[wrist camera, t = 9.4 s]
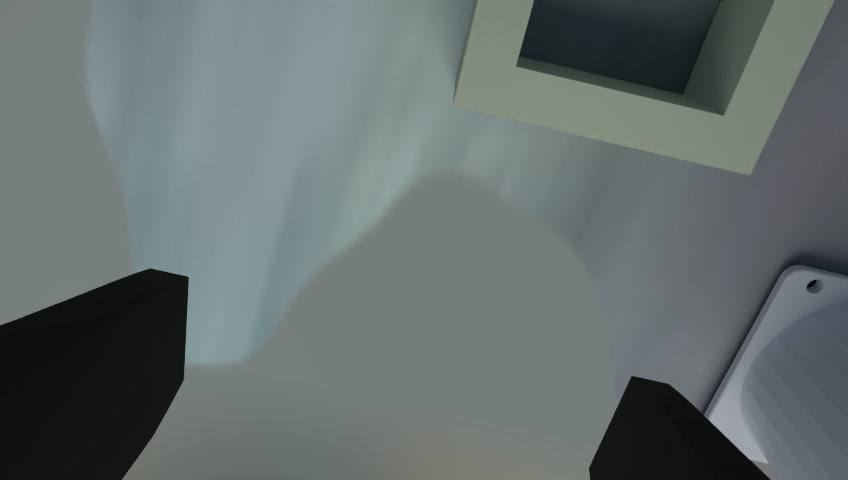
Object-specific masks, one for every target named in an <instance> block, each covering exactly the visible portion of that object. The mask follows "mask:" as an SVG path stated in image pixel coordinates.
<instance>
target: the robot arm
mask: <svg viewBox="0 0 848 480" xmlns="http://www.w3.org/2000/svg"><path fill="white" fill-rule="evenodd" d="M813 280H817V281H816V283H815V284H814V285H813V286H812V287H809V288H807V285H808V284H809V282H810V281H813ZM188 282H189V277H186V276H182V275H177V274H173V273H168V272H164V271H159V270H155V269H147V270H144V271H141V272H138V273H135V274H132V275H129V276H127V277H124V278H121V279H119V280H116V281H114V282H111V283H108V284H106V285H104V286H101V287H98V288H96V289H93V290H91V291H88V292H86V293H83V294H81V295H78V296H76V297H74V298H71V299H68V300H66V301H63V302H61V303H58V304H55V305H53V306H50V307H48V308H45V309H42V310H40V311H37V312H35V313H32V314H30V315H27V316H25V317H22V318H19V319H17V320H14V321H11V322H9V323H6V324H3V325H0V480H122V479H123V477H124V476H125V475H126V473H127V472H128V470H129V469H130V468H131V466H132V465H133V463H134V462H135V461H136V459H137V458H138V456H139V455H140V454H141V452H142V451H143V449H144V448H145V447H146V445H147V443H148V442H149V441H150V439H151V438H152V437H153V435H154V433H155V431H156V430H157V428H158V426H159V425H160V423H161V421H162V419H163V417H164V416H165V414H166V412H167V410H168V408H169V406H170V405H171V403H172V401H173V399H174V397H175V395H176V393H177V391H178V390H179V388H180V386H181V384H182V382H183V380H184V364H185V343H186V323H187V302H188ZM749 459H750V460H754V461H759V462H763V463H768V464H770V466H771V468H772V469H773V471H774V472H775V474H776V476H777V477H778V479H779V480H848V276H847V275H842V274H838V273H834V272H829V271H825V270H821V269H816V268H812V267H808V266H803V265H794V266H791V267H789V268H787V269H786V270H784V271H783V273H782V274H781V275H780V277H779V279H778V281H777V282H776V284H775V286H774V288H773V290H772V292H771V293H770V295H769V297H768V299H767V301H766V302H765V304H764V306H763V308H762V310H761V312H760V313H759V315H758V317H757V319H756V321H755V322H754V324H753V326H752V328H751V330H750V332H749V333H748V335H747V337H746V339H745V341H744V343H743V344H742V346H741V348H740V350H739V352H738V353H737V355H736V357H735V359H734V361H733V363H732V364H731V366H730V368H729V370H728V372H727V373H726V375H725V377H724V379H723V381H722V383H721V384H720V386H719V388H718V390H717V392H716V393H715V395H714V397H713V399H712V401H711V403H710V404H709V406H708V408H707V410H706V412H705V414H704V415H703V414H702V413H701V412H700V411H699V410H698V409H697V408H696V407H695V406H693V405H692V404H691V403H690V402H689V401H688V400H687V399H686V398H685V397H683V396H682V395H681V394H680V393H679V392H678V391H676V390H675V389H674V388H673V387H672V386H670V385H669V384H666V383H661V382H657V381H652V380H648V379H644V378H639V377H635V376H632V377H631V379H630V381H629V383H628V385H627V387H626V390H625V392H624V394H623V396H622V398H621V400H620V403H619V405H618V407H617V409H616V411H615V413H614V415H613V418H612V420H611V422H610V424H609V426H608V428H607V431H606V433H605V435H604V437H603V439H602V441H601V444H600V446H599V448H598V450H597V452H596V454H595V456H594V459H593V461H592V463H591V465H590V467H589V473H590V480H770V479H769V478H768V477H767V476H766V475H765V474H764V473H763V472H762V471H761V470H760V469H759V468H758V467H757V466H756V465H755V464H754V463H753V462H752V461H750V460H749Z"/></svg>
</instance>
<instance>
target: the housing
mask: <svg viewBox="0 0 848 480" xmlns="http://www.w3.org/2000/svg"><path fill="white" fill-rule="evenodd" d="M834 1H835V0H721V1H720V4H719V6H718V9H717V11H716V14H715V16H714V19H713V21H712V23H711V26H710V28H709V31H708V33H707V36H706V38H705V41H704V43H703V46H702V48H701V51H700V53H699V56H698V58H697V61H696V63H695V65H694V68H693V70H692V73H691V75H690V78H689V80H688V83H687V85H686V88H685V90H684V93H683V95H682V94H678V93H673V92H669V91H665V90H661V89H657V88H652V87H648V86H644V85H640V84H635V83H631V82H627V81H623V80H619V79H614V78H610V77H606V76H602V75H598V74H593V73H589V72H585V71H581V70H576V69H572V68H568V67H564V66H560V65H555V64H551V63H547V62H543V61H538V60H534V59H530V58H526V57H522V56H519V53H520V50H521V46H522V42H523V39H524V35H525V32H526V28H527V24H528V21H529V17H530V13H531V10H532V6H533V3H534V0H475V4H474V8H473V12H472V17H471V21H470V25H469V29H468V34H467V38H466V42H465V46H464V51H463V55H462V59H461V63H460V68H459V72H458V76H457V80H456V85H455V91H454V100H453V106H455V107H459V108H464V109H468V110H472V111H476V112H481V113H485V114H489V115H493V116H498V117H502V118H506V119H511V120H515V121H519V122H523V123H528V124H532V125H536V126H540V127H545V128H549V129H553V130H558V131H562V132H566V133H570V134H575V135H579V136H583V137H588V138H592V139H596V140H600V141H605V142H609V143H613V144H617V145H622V146H626V147H630V148H635V149H639V150H643V151H647V152H652V153H656V154H660V155H664V156H669V157H673V158H677V159H682V160H686V161H690V162H694V163H699V164H703V165H707V166H711V167H716V168H720V169H724V170H729V171H733V172H737V173H741V174H746V175H751V173H752V171H753V169H754V166H755V164H756V162H757V160H758V158H759V156H760V154H761V152H762V150H763V148H764V146H765V144H766V142H767V140H768V137H769V135H770V133H771V131H772V129H773V127H774V125H775V123H776V121H777V119H778V117H779V115H780V113H781V111H782V108H783V106H784V104H785V102H786V100H787V98H788V96H789V94H790V92H791V90H792V88H793V86H794V84H795V82H796V79H797V77H798V75H799V73H800V71H801V69H802V67H803V65H804V63H805V61H806V59H807V57H808V55H809V53H810V50H811V48H812V46H813V44H814V42H815V40H816V38H817V36H818V34H819V32H820V30H821V28H822V26H823V24H824V21H825V19H826V17H827V15H828V13H829V11H830V9H831V7H832V5H833V3H834Z"/></svg>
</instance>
